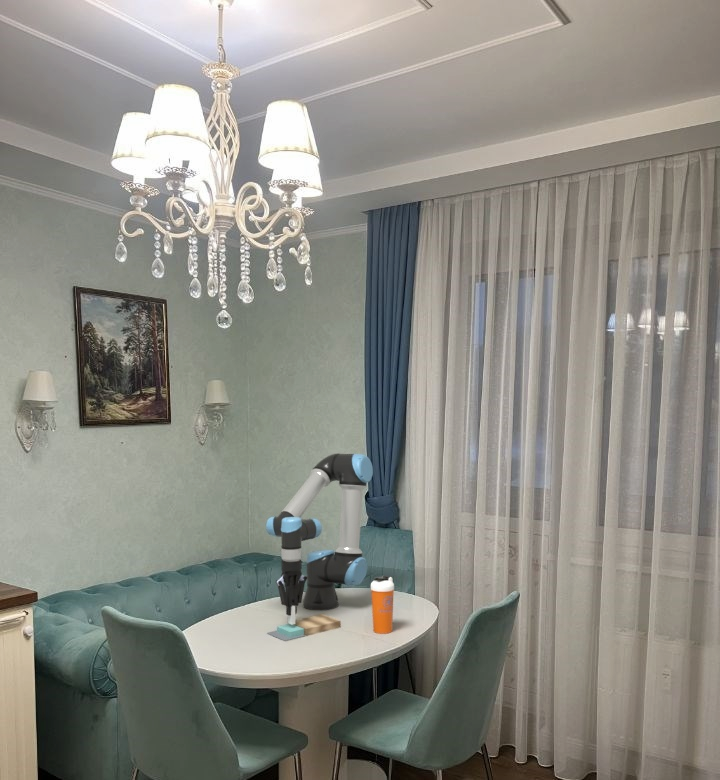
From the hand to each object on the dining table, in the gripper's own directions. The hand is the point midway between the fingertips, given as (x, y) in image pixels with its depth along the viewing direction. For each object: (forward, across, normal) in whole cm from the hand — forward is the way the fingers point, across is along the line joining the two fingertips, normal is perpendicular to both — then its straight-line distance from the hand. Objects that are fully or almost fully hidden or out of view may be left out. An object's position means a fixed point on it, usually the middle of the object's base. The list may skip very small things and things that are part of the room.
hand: (291, 623), depth 264 cm
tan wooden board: (+4, -10, 0) cm, 11 cm away
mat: (+4, +2, 0) cm, 4 cm away
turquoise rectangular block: (+3, +1, 0) cm, 3 cm away
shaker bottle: (+4, -28, +20) cm, 34 cm away
